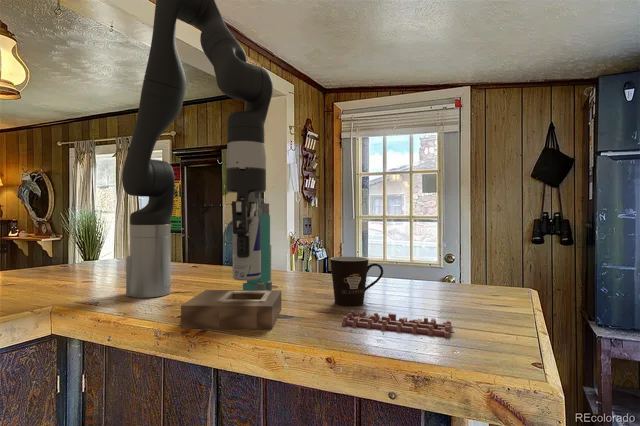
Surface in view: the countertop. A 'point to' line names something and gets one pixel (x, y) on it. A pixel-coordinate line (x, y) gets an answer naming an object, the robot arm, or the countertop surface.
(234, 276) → the energy drink
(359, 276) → the coffee mug
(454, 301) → the countertop surface
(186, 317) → the holder board
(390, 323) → the chocolate bar
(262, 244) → the building
